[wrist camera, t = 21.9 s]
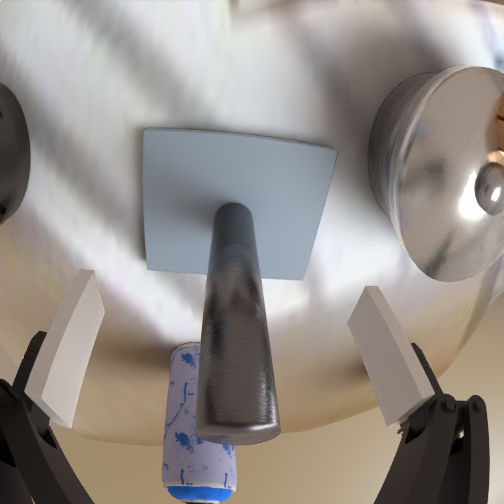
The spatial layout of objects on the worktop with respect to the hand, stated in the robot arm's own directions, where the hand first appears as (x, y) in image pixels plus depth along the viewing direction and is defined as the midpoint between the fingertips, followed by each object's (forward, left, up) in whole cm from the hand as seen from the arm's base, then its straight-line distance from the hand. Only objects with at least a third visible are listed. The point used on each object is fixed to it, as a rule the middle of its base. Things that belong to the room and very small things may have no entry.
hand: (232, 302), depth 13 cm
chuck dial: (+18, +8, -6) cm, 21 cm away
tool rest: (0, 0, -11) cm, 11 cm away
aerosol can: (-2, -21, -11) cm, 24 cm away
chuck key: (0, -1, -10) cm, 10 cm away
